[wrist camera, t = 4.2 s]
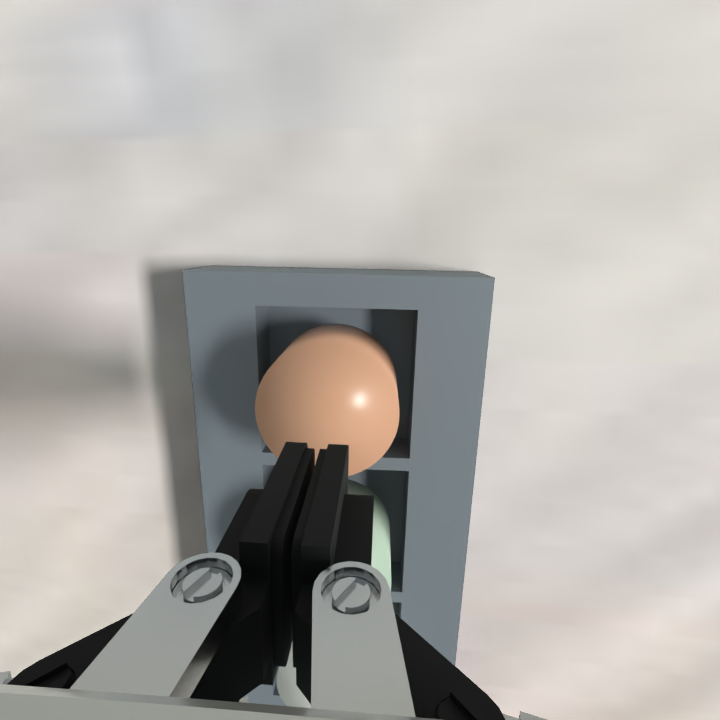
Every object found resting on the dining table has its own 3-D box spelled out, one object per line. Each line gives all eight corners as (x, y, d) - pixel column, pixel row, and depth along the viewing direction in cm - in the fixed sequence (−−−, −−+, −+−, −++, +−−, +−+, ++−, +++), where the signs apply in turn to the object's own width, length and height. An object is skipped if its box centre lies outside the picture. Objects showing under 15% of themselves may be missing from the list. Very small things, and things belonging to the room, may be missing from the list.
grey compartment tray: (441, 670, 26) (448, 725, 23) (239, 657, 26) (221, 710, 23) (477, 271, 19) (494, 277, 16) (211, 265, 20) (182, 270, 17)
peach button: (393, 438, 19) (396, 481, 16) (279, 434, 19) (258, 475, 16) (399, 325, 17) (402, 345, 14) (275, 321, 18) (251, 340, 14)
